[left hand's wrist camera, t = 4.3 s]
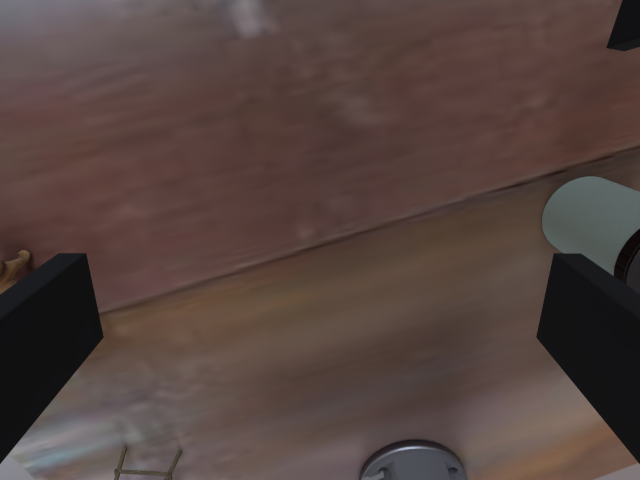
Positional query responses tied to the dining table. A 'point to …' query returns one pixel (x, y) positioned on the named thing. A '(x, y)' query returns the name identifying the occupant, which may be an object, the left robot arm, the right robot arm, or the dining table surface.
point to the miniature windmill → (167, 474)
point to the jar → (592, 219)
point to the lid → (629, 263)
